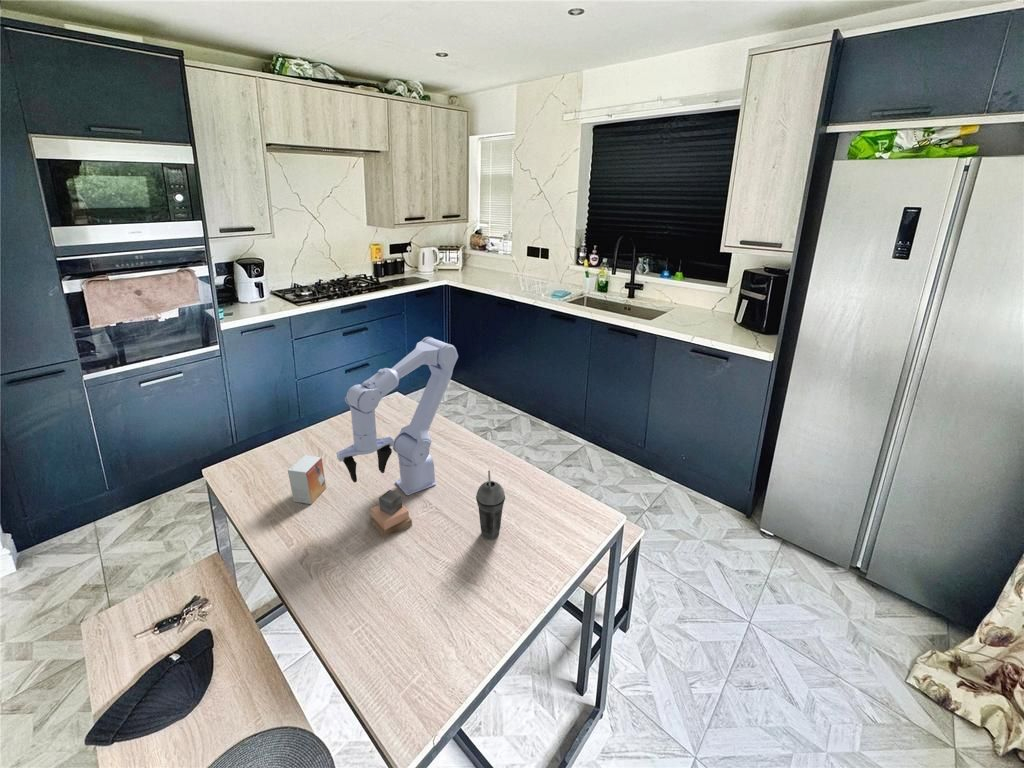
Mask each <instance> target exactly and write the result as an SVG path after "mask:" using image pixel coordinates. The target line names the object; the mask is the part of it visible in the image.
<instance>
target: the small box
mask: <svg viewBox="0 0 1024 768" xmlns="http://www.w3.org/2000/svg"><path fill="white" fill-rule="evenodd" d="M323 464H324V463H323V458H322V457H321V456H314V455H306V454H304V455H303V456H302V457H301V458H300V459H299V460H298V461H297V462H295V463H294V464H293V465H292V466H291V467H290V468H289V469H287V472H288V473H287V475H288V479H289V484H290V488H291V489H290V490H291V496H292V500H293V502H295V503H301V504H302V503H303V504H308V505H312V504H313V503H314V502H315V501H316V500H317V498H318V497H320V495H321V494H322V493H323V492H324V491H325V490H326V489H327V484H326V483H327V482H326V478H325V476H326V475H325V472H324V471H325V470H324V465H323Z"/></svg>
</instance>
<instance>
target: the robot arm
mask: <svg viewBox="0 0 1024 768" xmlns="http://www.w3.org/2000/svg"><path fill="white" fill-rule="evenodd" d="M458 359H459V354H458V351H457V348H456V347H455V345H453V344H450V343H447V342H444V341H442V340H439V339H436V338H434V337H432V336H426V337H424V338H422V339H421V341H419V342H417V343H416V345H415V348H414V349H413V350H412V351H410V352H409V353H408V354H407V355H406V356H404V357H403V358H402V359H401V360H400V361H399V362H397V363H395V365H394V366H392V367H391V368H388V367H384V368H380V369H379V370H377V372H376V373H375V374H373V375H372V376H370V378H368V379H367V380H364V381H363V382H362V383H361V384H359V383H358V384H354V385H353V386H351V387H350V388H348V390H347V393H346V396H345V397H344V400H345V403H346V404H347V405H348V407H349V408H350V416H351V426H352V429H351V430H352V436H353V444H351V445H349V446H348V447H345V448H344V449H340V450H338V451H336V458H337V460H338V461H339V462H343V463H344V465H345V467H346V469H347V470H348V473H349V475H350V478H351V479H350V480H351V481H352V482H353V483H357V482H358V478H357V462H356V461H355V459H354V457H355V456H356V457H357V456H360V455H362V456H363V455H370V454H372V453H375V452H376V454H377V463H378V464H377V466H378V471H379V472H380V473H381V474H384V473H385V471H386V467H387V464H388V463H387V462H388V460H389V458H390V457H391V455H392V453H393V452H394V453H396V454H397V458H398V463H399V476H400V477H399V479H397V480H395V483H396V485H397V486H398V487H399V488H400V489H401V491H402V492H403V493H404V494H405V496H410V495H413V494H415V493H417V492H421V491H423V490H426V489H428V488H431V487H433V486H437V482H436V478H435V477H436V476H435V464H434V459H433V458H432V456H431V454H430V449H431V448H430V447H431V445H432V443H433V441H432V438H431V436H430V434H429V430H430V428H431V425H432V423H433V421H434V418H435V415H436V414H437V411H438V410H439V406H440V404H441V403H442V399H443V397H444V395H445V392H446V390H447V387H448V385H449V382H450V381H451V379H452V376H453V373H454V372H453V371H454V368H455V365H456V363H457V360H458ZM422 365H427V366H428V368H429V371H430V372H431V374H430V377H429V379H428V381H427V384H426V386H425V387H424V388H425V389H424V390H423V393H422V394H421V395H422V396H421V398H420V399H419V402H418V405H417V407H416V409H415V411H414V414H413V416H412V418H411V421H410V423H409V424H408V425H405V426H402V427H401V429H400V431H399V433H398V434H397V435H396V436H395V437H394V439H393V437H392V436H388V437H381V438H377V423H376V422H377V421H376V409H377V407H379V404H380V402H381V401H382V399H383V397H385V396H386V395H388V394H389V393H390V392H392V391H394V390H395V389H396V388H397V387H398V386H399V383H400V379H402V378H403V377H405V376H407V375H408V374H410V373H411V372H413V371H415V370H416V369H418V368H420V367H422ZM391 447H392V448H391Z"/></svg>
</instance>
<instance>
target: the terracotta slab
mask: <svg viewBox="0 0 1024 768" xmlns="http://www.w3.org/2000/svg"><path fill="white" fill-rule="evenodd" d="M409 514H410V513H409V510H408V508H406V507H405V506H404V505H403V504H402V508H401V509H400V510H398V511H397V512H396V513H395V514H393V515H392V516H391V515H389V514H387V513H385V512H383V511H381V510H380V505H379V504H378V505H375V506H373V507H371V508H370V515H371V516H372V517H373V519H374V520H375V521H376V522H377V523H378V524H379V525H380V526H381V527H382V528H383V529H384V530H387V529H389V528H391V527H393V526H395V525H397V524H399V523H401V522H403V521H405V520H407V519H409V517H410V515H409Z"/></svg>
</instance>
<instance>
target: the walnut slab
mask: <svg viewBox="0 0 1024 768" xmlns="http://www.w3.org/2000/svg"><path fill="white" fill-rule="evenodd" d="M369 516H370V521H371V523H372V524H373V525H374V527H375V529H376V530H377V532H378V533H379V534H380V536H381V537H382V538H383V539H385V538H386V537H389V536H391V535H394V534H395V533H398V532H400V531H402V530H405V529H408V528H410V527H412V526H413V521H412V517H410V516H409V519H407V520H405V521H403V522H401V523H399V524H397V525H395V526H393V527H391V528H389V529H387V530H384V529H383V528H382V527H381V526H380V525H379V524H378V523H377V522H376V521H375V520H374V519H373V517H372V516H371V514H370V515H369Z"/></svg>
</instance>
